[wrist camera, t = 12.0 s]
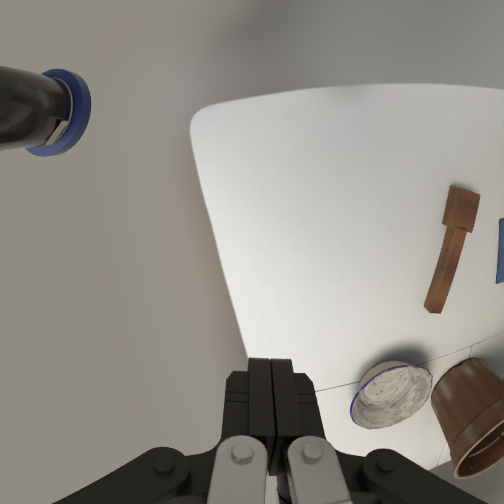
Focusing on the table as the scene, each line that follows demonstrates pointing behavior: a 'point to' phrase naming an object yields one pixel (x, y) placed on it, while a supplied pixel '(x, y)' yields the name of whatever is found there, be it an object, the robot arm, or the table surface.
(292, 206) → the table surface
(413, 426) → the table surface
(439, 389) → the plant pot
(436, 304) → the wooden mallet
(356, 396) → the bowl
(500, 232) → the cloth
